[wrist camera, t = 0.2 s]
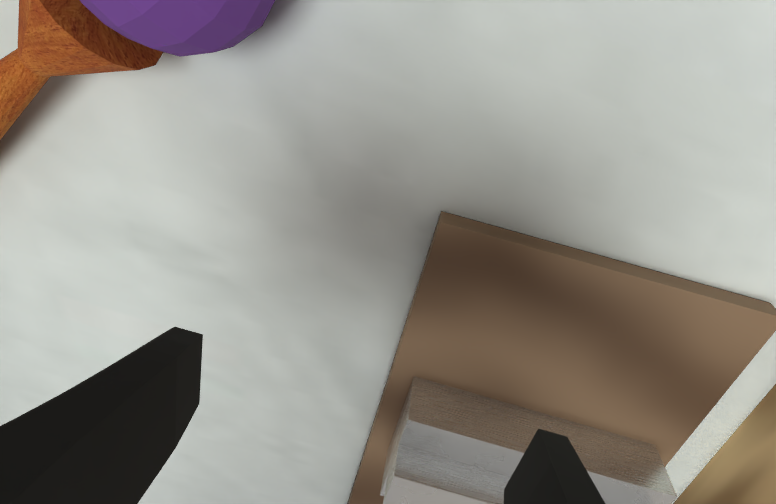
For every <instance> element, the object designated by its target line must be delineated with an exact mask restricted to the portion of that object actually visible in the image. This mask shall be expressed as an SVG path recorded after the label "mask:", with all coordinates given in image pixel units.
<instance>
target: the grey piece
mask: <svg viewBox="0 0 776 504" xmlns="http://www.w3.org/2000/svg"><path fill="white" fill-rule="evenodd" d="M538 428H539V429H542V430H546V431H549V432H553V433H556V434H560V435H564V436H567V437H568V439H569V441H570V442H571V444H572V446H573V447H574V449H575V451H576V453H577V454H578V456H579V458H580V460H581V462H582V463H583V465H584V467H585V469H586V470H587V472H588V474H589V476H590V477H591V479H592V481H593V483H594V484H595V486H596V488H597V490H598V491H599V493H600V495H601V497H602V498H603V500H604V502H605V504H671V503H672V502H673V501H674V500H675V499H676V497H677V495H676V493H675V490H674V488H673V486H672V483H671V481H670V478H669V476H668V474H667V471H666V469H665V467H664V464H663V462H662V459H661V457H660V455H659V452H658V450H657V448H656V445H654V444H650V443H647V442H643V441H640V440H636V439H633V438H629V437H626V436H622V435H619V434H615V433H612V432H608V431H605V430H601V429H598V428H594V427H591V426H587V425H584V424H580V423H576V422H573V421H569V420H566V419H562V418H559V417H555V416H552V415H548V414H545V413H541V412H538V411H534V410H531V409H527V408H524V407H520V406H517V405H513V404H510V403H506V402H503V401H499V400H496V399H492V398H489V397H485V396H482V395H478V394H474V393H471V392H467V391H464V390H460V389H457V388H453V387H450V386H446V385H443V384H439V383H436V382H432V381H429V380H425V379H422V378H418V377H415V376H414V377H413V380H412V383H411V386H410V389H409V391H408V394H407V397H406V400H405V403H404V405H403V408H402V411H401V414H400V417H399V419H398V422H397V425H396V428H395V431H394V433H393V436H392V439H391V442H390V445H389V447H388V451H387V457H386V463H385V469H384V474H383V480H382V486H381V492H380V495H381V496H384V499H383V504H504V489H505V487H506V485H507V483H508V481H509V480H510V478H511V476H512V474H513V472H514V471H515V469H516V467H517V465H518V464H519V462H520V460H521V458H522V456H523V455H524V453H525V451H526V449H527V448H528V446H529V444H530V442H531V440H532V439H533V437H534V435H535V433H536V432H537V430H538Z"/></svg>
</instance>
